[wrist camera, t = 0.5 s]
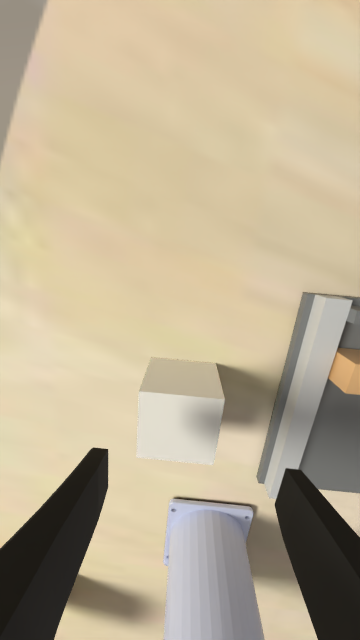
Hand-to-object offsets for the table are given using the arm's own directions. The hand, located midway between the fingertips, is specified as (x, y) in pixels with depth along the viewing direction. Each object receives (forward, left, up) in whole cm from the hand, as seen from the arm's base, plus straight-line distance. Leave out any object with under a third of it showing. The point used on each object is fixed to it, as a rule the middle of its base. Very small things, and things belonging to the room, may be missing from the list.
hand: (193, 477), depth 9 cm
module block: (-2, +1, -9) cm, 9 cm away
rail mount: (-2, -13, -9) cm, 16 cm away
